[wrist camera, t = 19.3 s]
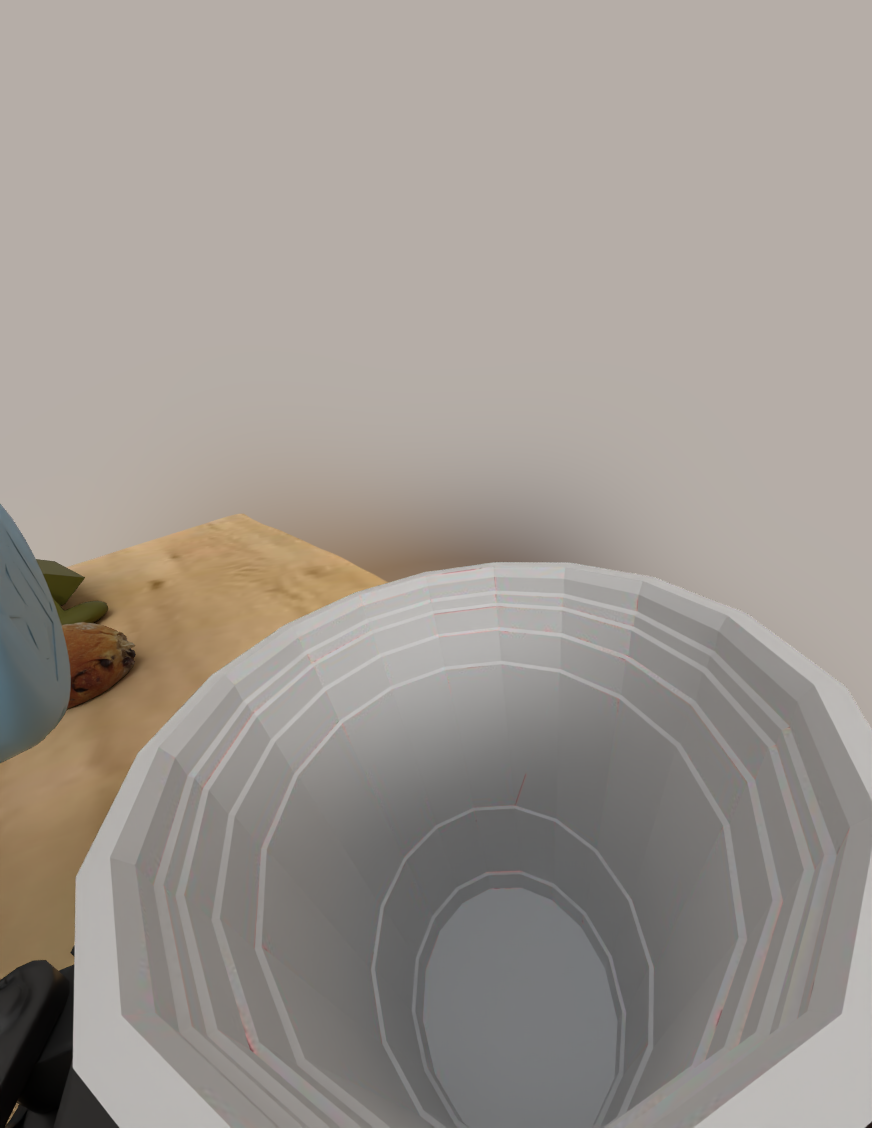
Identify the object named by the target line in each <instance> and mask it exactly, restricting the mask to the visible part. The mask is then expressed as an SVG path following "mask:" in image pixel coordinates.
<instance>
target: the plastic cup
mask: <svg viewBox="0 0 872 1128" xmlns="http://www.w3.org/2000/svg"><path fill="white" fill-rule="evenodd" d="M73 1069H74V1070H75V1071H76V1073H77V1074H78V1075H79V1076H80V1078H81V1079H82V1080H83V1082H84V1083H85V1084H86V1085H87V1087H88V1088H89V1089H90V1091H91V1092H92V1093H93V1094H94V1096H95V1097H96V1098H97V1100H98V1101H99V1102H100V1103H101V1105H102V1106H103V1107H104V1108H105V1110H106V1111H107V1112H108V1114H109V1115H110V1116H111V1117H112V1119H113V1120H114V1121H115V1123H116V1124H117V1125H118V1126H119V1128H865V1127H866V1126H867V1125H868V1124H869V1123H870V1122H872V729H871V727H870V725H869V724H868V722H867V720H866V719H865V717H864V715H863V714H862V712H861V710H860V709H859V707H858V705H857V704H856V702H855V700H854V699H853V697H852V695H851V694H850V692H849V690H848V689H847V687H846V686H844V685H843V684H841V683H840V682H839V681H838V680H836V679H835V678H834V677H832V676H831V675H830V674H828V673H827V672H826V671H824V670H823V669H821V668H820V667H819V666H817V665H816V664H815V663H813V662H812V661H811V660H809V659H808V658H807V657H805V656H804V655H802V654H801V653H800V652H798V651H797V650H796V649H794V648H793V647H792V646H790V645H789V644H787V643H786V642H785V641H784V640H782V639H781V638H779V637H778V636H777V635H775V634H774V633H773V632H771V631H770V630H769V629H767V628H765V626H763V625H762V624H760V623H759V622H758V621H756V620H755V619H754V618H752V617H751V616H750V615H748V614H747V613H745V612H743V611H740V610H738V609H735V608H733V607H730V606H727V605H725V604H722V603H719V602H717V601H714V600H712V599H709V598H707V597H704V596H701V595H699V594H696V593H694V592H691V591H688V590H686V589H683V588H681V587H678V586H676V585H673V584H670V583H668V582H665V581H663V580H660V579H657V578H655V577H651V576H645V575H639V574H633V573H627V572H622V571H616V570H609V569H604V568H598V567H592V566H586V565H581V564H575V563H525V562H524V563H523V562H522V563H520V562H519V563H518V562H516V563H515V562H494V563H487V564H480V565H473V566H466V567H459V568H453V569H445V570H438V571H431V572H424V573H421V574H417V575H414V576H410V577H407V578H404V579H400V580H397V581H393V582H390V583H386V584H383V585H379V586H376V587H372V588H369V589H366V590H362V591H359V592H355V593H353V594H351V595H349V596H346V597H344V598H342V599H340V600H338V601H336V602H333V603H331V604H329V605H327V606H325V607H323V608H320V609H318V610H316V611H314V612H312V613H310V614H307V615H305V616H303V617H301V618H299V619H297V620H294V621H292V622H290V623H288V624H286V625H284V626H282V627H281V628H279V629H278V630H277V631H275V632H274V633H272V634H271V635H269V636H268V637H266V638H265V639H263V640H262V641H261V642H259V643H258V644H256V645H255V646H253V647H252V648H250V649H249V650H247V651H246V652H245V653H243V654H242V655H240V656H239V657H237V658H236V659H234V660H233V661H231V662H230V663H229V664H227V665H226V666H224V667H223V668H221V669H220V670H218V671H217V672H215V673H214V674H213V675H211V676H210V677H209V678H208V679H207V680H206V682H205V683H204V684H203V685H202V686H201V687H200V688H199V689H198V690H197V691H196V692H195V693H194V694H193V695H192V696H191V697H190V698H189V700H188V701H187V702H186V703H185V704H184V705H183V706H182V707H181V708H180V709H179V710H178V711H177V712H176V713H175V714H174V715H173V716H172V718H171V719H170V720H169V721H168V722H167V723H166V724H165V725H164V726H163V727H162V728H161V729H160V730H159V731H158V732H157V733H156V734H155V736H154V737H153V738H152V739H151V740H150V741H149V742H148V743H147V744H146V745H145V746H144V747H143V748H142V749H141V750H140V751H139V752H138V754H137V756H136V758H135V760H134V762H133V764H132V766H131V768H130V770H129V772H128V774H127V776H126V778H125V780H124V782H123V784H122V786H121V788H120V790H119V792H118V794H117V796H116V798H115V800H114V802H113V804H112V806H111V808H110V810H109V812H108V814H107V816H106V818H105V820H104V822H103V824H102V826H101V828H100V830H99V832H98V834H97V836H96V838H95V840H94V842H93V844H92V846H91V848H90V850H89V852H88V854H87V856H86V858H85V860H84V862H83V864H82V866H81V868H80V870H79V872H78V874H77V876H76V900H75V960H74V1019H73Z"/></svg>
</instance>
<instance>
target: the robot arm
mask: <svg viewBox="0 0 872 1128" xmlns="http://www.w3.org/2000/svg"><path fill="white" fill-rule="evenodd" d="M70 688H71V675H70V663H69V657H68V651H67V646H66V642H65V637H64V633H63V630H62V626H61V622H60V619H59V616H58V613H57V610H56V607H55V604H54V601H53V598H52V596H51V593H50V590H49V588H48V585H47V583H46V580H45V578H44V576H43V574H42V572H41V569H40V567H39V565H38V563H37V561H36V559H35V557H34V555H33V553H32V551H31V549H30V547H29V545H28V544H27V542H26V540H25V538H24V537H23V535H22V533H21V532H20V530H19V529H18V527H17V525H16V524H15V522H14V521H13V519H12V518H11V516H10V515H9V514H8V513H7V511H6V510H5V509H4V508H3V506H2V505H1V504H0V763H2V762H4V761H6V760H8V759H10V758H12V757H14V756H16V755H18V754H20V753H22V752H24V751H26V750H28V749H30V748H32V747H34V746H35V745H37V744H38V743H40V742H41V741H42V740H44V739H45V737H46V736H47V735H48V734H49V733H50V732H51V731H52V730H53V729H54V728H55V727H56V726H57V724H58V723H59V722H60V720H61V719H62V717H63V716H64V714H65V712H66V709H67V706H68V702H69V698H70ZM71 954H72V955H73V956H74V957H75V945H74V947H73V949H72V951H71ZM73 1019H74V965H72V966H69V967H67V968H64V969H62V970H59V971H58V970H57V969H55V968H54V967H53V966H52V965H51V964H50V963H49V962H47V961H46V960H36V961H31V962H29V963H27V964H25V965H23V966H20V967H18V968H16V969H15V970H14V971H12V972H11V973H10V974H8V975H7V976H5V977H4V978H3V979H1V980H0V1128H119V1126H118V1125H117V1124H116V1123H115V1121H114V1120H113V1119H112V1117H111V1116H110V1115H109V1114H108V1112H107V1111H106V1110H105V1108H104V1107H103V1106H102V1105H101V1103H100V1102H99V1101H98V1100H97V1098H96V1097H95V1096H94V1094H93V1093H92V1092H91V1091H90V1089H89V1088H88V1087H87V1085H86V1084H85V1083H84V1082H83V1080H82V1079H81V1078H80V1076H79V1075H78V1074H77V1073H76V1071H75V1070H74V1069H73ZM16 1103H18V1104H19V1106H18V1108H17V1110H16V1111H15V1113H14V1115H13V1116H12V1118H11V1120H10V1121H9V1123H8V1124H7V1125H6V1123H7V1121H8V1119H9V1117H10V1115H11V1113H12V1111H13V1109H14V1107H15V1105H16ZM5 1125H6V1126H5ZM865 1128H872V1122H870V1123H869V1124H868V1125H867V1126H866V1127H865Z"/></svg>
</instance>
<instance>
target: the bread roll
mask: <svg viewBox="0 0 872 1128" xmlns="http://www.w3.org/2000/svg"><path fill="white" fill-rule="evenodd" d="M61 626H62V630H63V633H64V637H65V642H66V646H67V651H68V657H69V663H70V675H71V688H70V698H69V702H68V706H67V709H68V708H71V707H74V706H76V705H79V704H81V703H83V702H86V701H88V700H90V699H92V698H94V697H96V696H98V695H100V694H102V693H103V692H105V691H106V690H108V689H109V688H110V687H112V686H113V685H114V684H115V683H117V682H118V681H119V680H120V679H121V678H122V677H123V676H125V675H126V674H127V673H128V672H129V669H130V668H131V667H133V665H134V662H135V661H134V657H135V655H136V654H135V652H134V650H131V648H132V647H134V646H135V645H134V644H133V643H131V642H128V641H127V637H126V636H125V635H124V634H123V633H121V632H118V631H116V630H114V629H112V628H109V627H107V626H103V625H99V624H94V623H85V622H81V623H74V624H65V625H61Z"/></svg>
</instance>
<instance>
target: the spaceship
mask: <svg viewBox="0 0 872 1128" xmlns="http://www.w3.org/2000/svg"><path fill="white" fill-rule="evenodd" d="M36 561H37V563H38V565H39V567H40V569H41V572H42V574H43V576H44V578H45V580H46V583H47V585H48V588H49V590H50V593H51V596H52V598H53V601H54V604H55V607H56V610H57V613H58V616H59V619H60V622H61V625H65V624H74V623H81V622H85V623H93V622H95V621H97V620H98V619H100V618H101V617H102V616H104V615H105V613H106V612H107V610H108V606H107V604H106V603H105V602H102V601H90V602H85V603H82V604H79V605H77V606H74V607H72V608H70V609H67V610H65V611H64V610H63V609H62V608H61V607H60V606H61V605H64V604H65V603H66V602H67V601H68V599H69V598H70V597H71V595H72V594H73V593H74V592H75V590H76V589H77V588H78V586H79V585H80V584H81V582H82V581H83V580H84V578H85V577H83V576H81V575H79V574H77V573H75V572H74V571H72V570H70V569H68V568H66V567H64V566H62V565H60V564H58V563H57V562H55V561H47V560H38V559H36Z"/></svg>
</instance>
